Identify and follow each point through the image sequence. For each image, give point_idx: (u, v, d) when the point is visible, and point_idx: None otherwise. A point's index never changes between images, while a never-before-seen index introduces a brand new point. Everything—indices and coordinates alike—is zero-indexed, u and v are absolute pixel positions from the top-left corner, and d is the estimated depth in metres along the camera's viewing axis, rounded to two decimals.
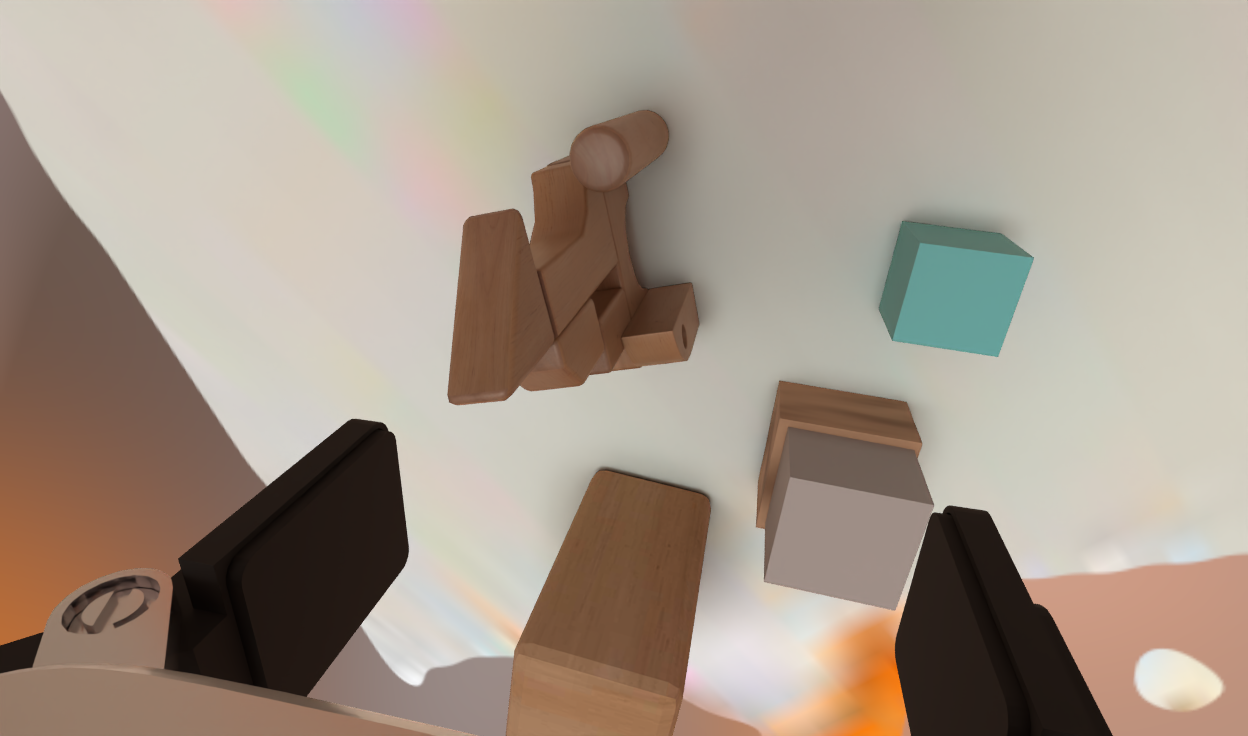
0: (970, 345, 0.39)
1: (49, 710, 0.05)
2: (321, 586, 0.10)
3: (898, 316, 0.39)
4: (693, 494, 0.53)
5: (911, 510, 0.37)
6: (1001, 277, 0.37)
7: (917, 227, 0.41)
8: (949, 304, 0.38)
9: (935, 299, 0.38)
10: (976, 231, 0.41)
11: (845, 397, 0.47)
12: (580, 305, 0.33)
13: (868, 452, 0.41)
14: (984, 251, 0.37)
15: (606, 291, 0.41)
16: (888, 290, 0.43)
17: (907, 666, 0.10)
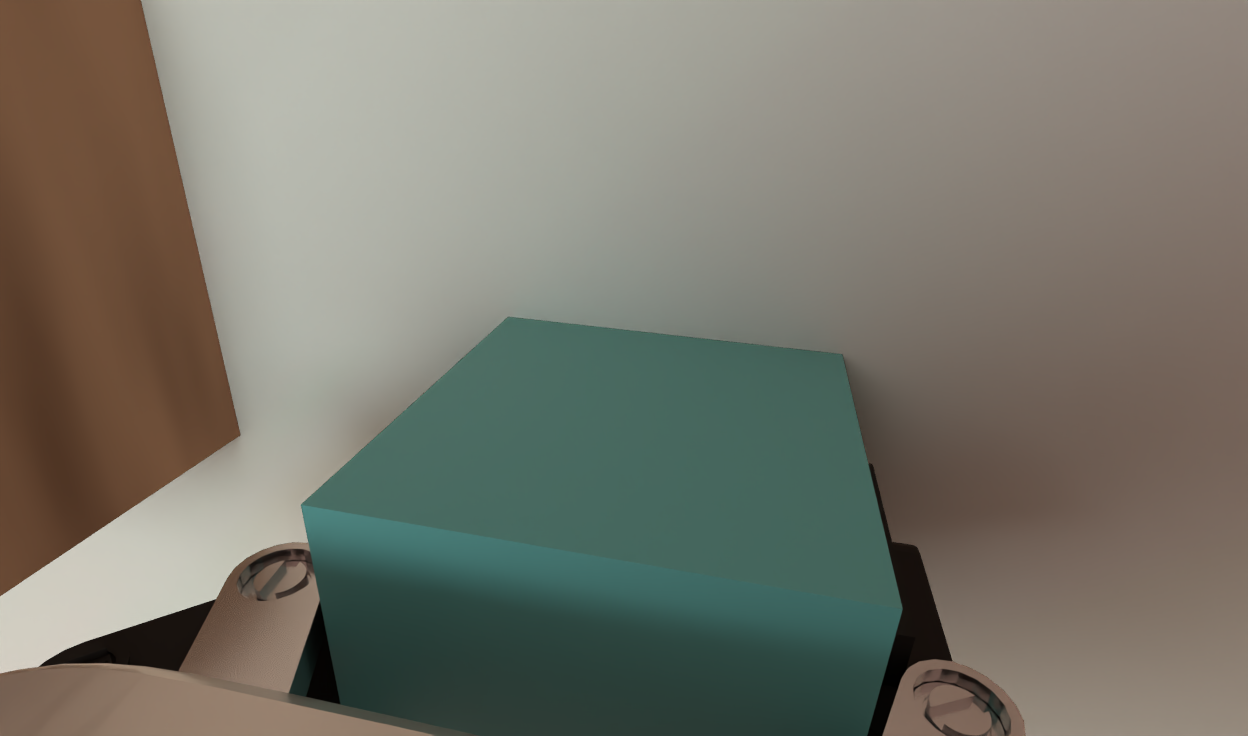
0: None
1: (50, 708, 0.05)
2: None
3: (441, 517, 0.07)
4: None
5: None
6: None
7: None
8: (552, 723, 0.07)
9: (565, 674, 0.07)
10: None
11: (150, 257, 0.12)
12: None
13: None
14: None
15: None
16: (577, 358, 0.11)
17: None
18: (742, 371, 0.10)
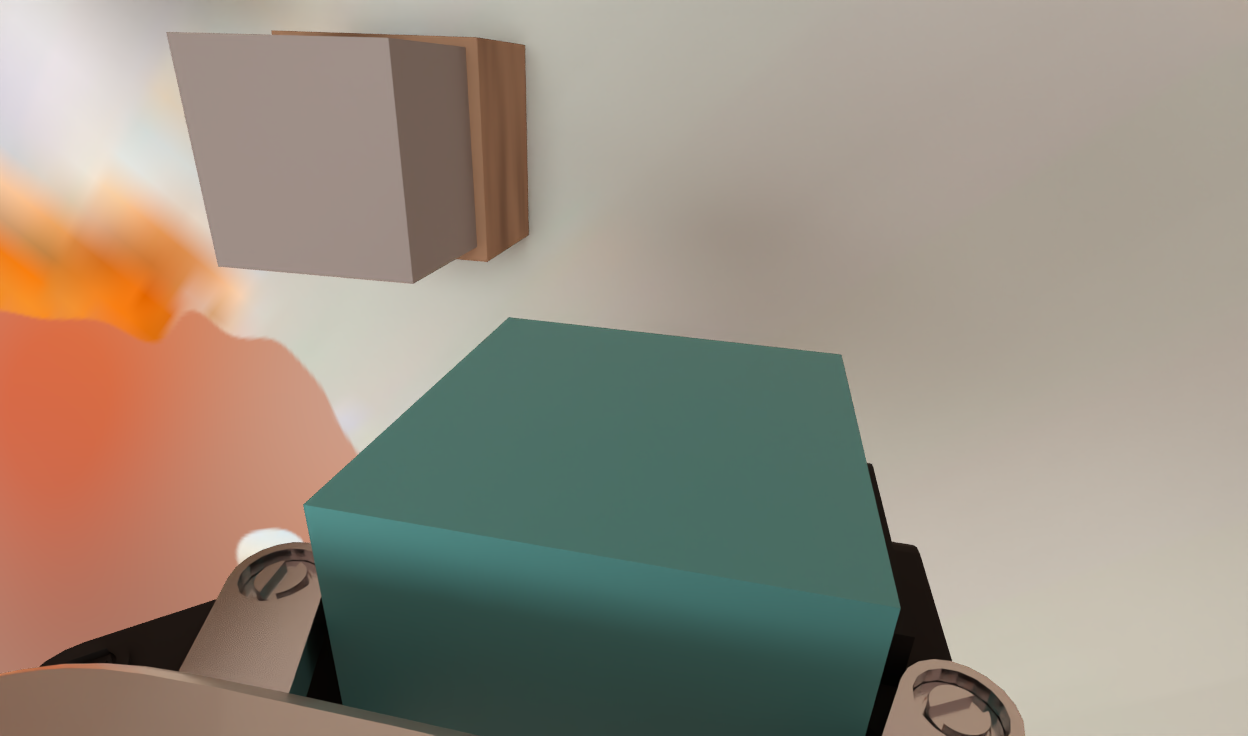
0: None
1: (50, 708, 0.05)
2: None
3: (442, 517, 0.07)
4: None
5: (393, 254, 0.24)
6: None
7: None
8: (552, 721, 0.08)
9: (565, 673, 0.07)
10: None
11: (520, 150, 0.32)
12: None
13: (459, 181, 0.27)
14: None
15: None
16: (577, 358, 0.11)
17: None
18: (741, 371, 0.10)
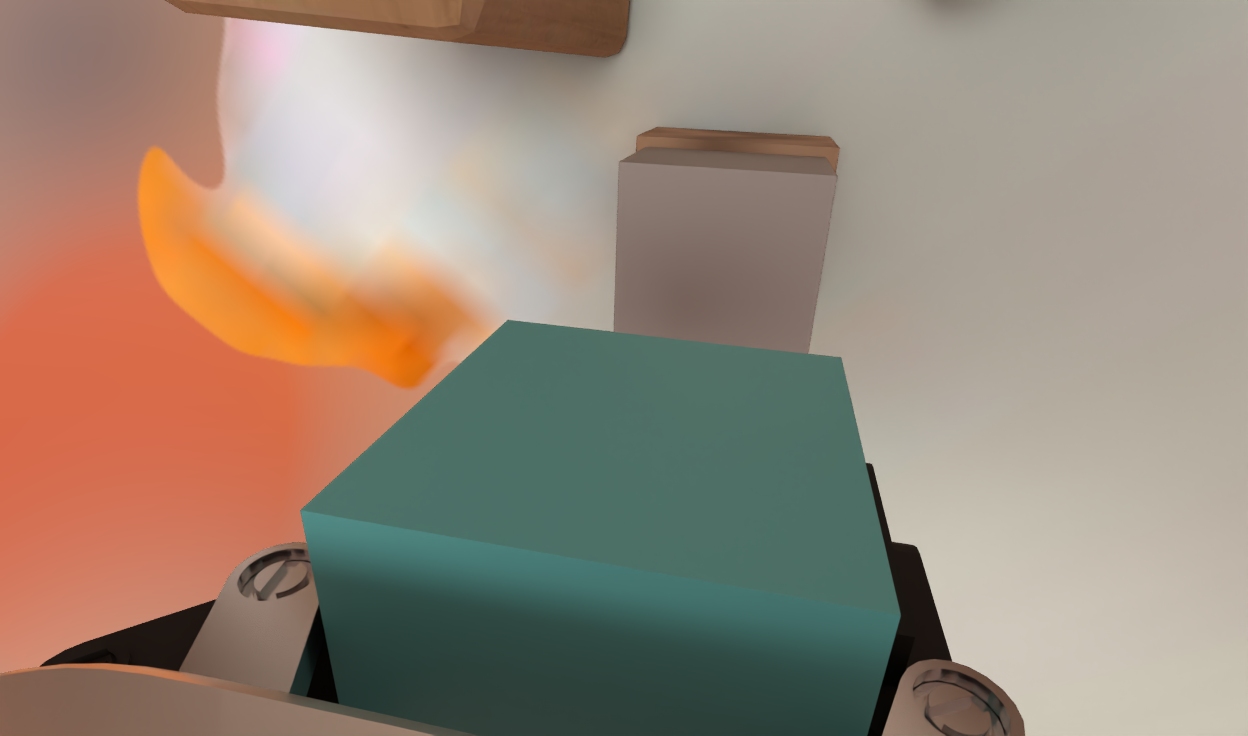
0: None
1: (50, 710, 0.05)
2: None
3: (440, 523, 0.07)
4: None
5: None
6: None
7: None
8: (551, 728, 0.07)
9: (564, 679, 0.07)
10: None
11: None
12: None
13: None
14: None
15: None
16: (577, 361, 0.11)
17: None
18: (741, 375, 0.10)
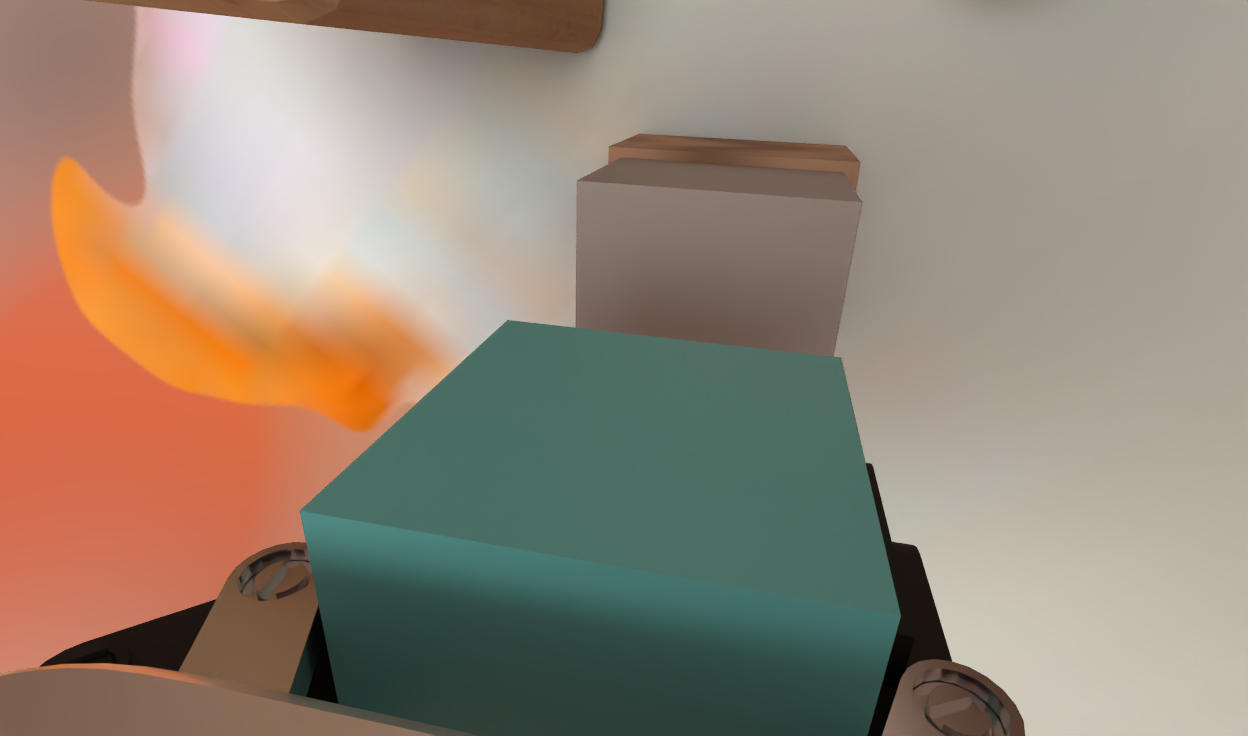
0: None
1: (49, 710, 0.05)
2: None
3: (440, 523, 0.07)
4: None
5: None
6: None
7: None
8: (550, 729, 0.07)
9: (563, 679, 0.07)
10: None
11: None
12: None
13: None
14: None
15: None
16: (576, 362, 0.11)
17: None
18: (741, 375, 0.10)
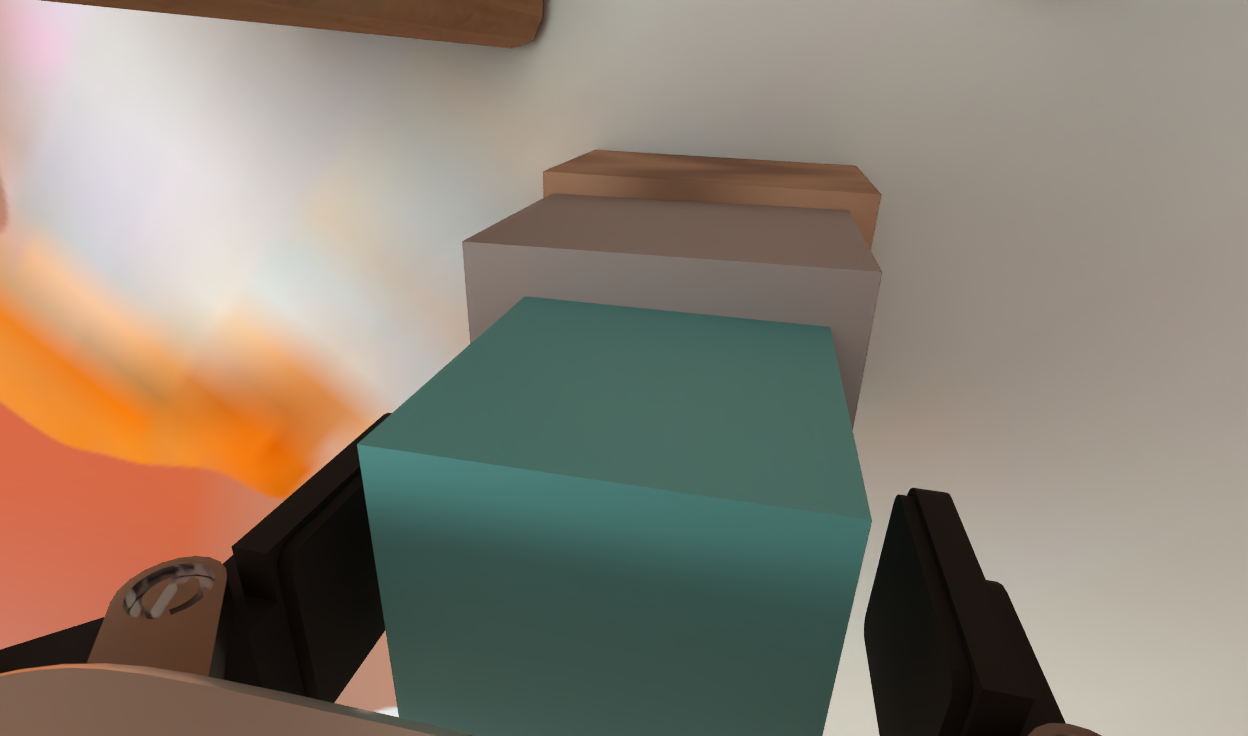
0: (423, 702, 0.10)
1: (50, 710, 0.05)
2: (362, 575, 0.10)
3: (478, 454, 0.08)
4: None
5: None
6: None
7: None
8: (573, 638, 0.09)
9: (584, 591, 0.08)
10: None
11: None
12: None
13: None
14: None
15: None
16: (589, 330, 0.12)
17: (873, 643, 0.11)
18: (738, 341, 0.12)
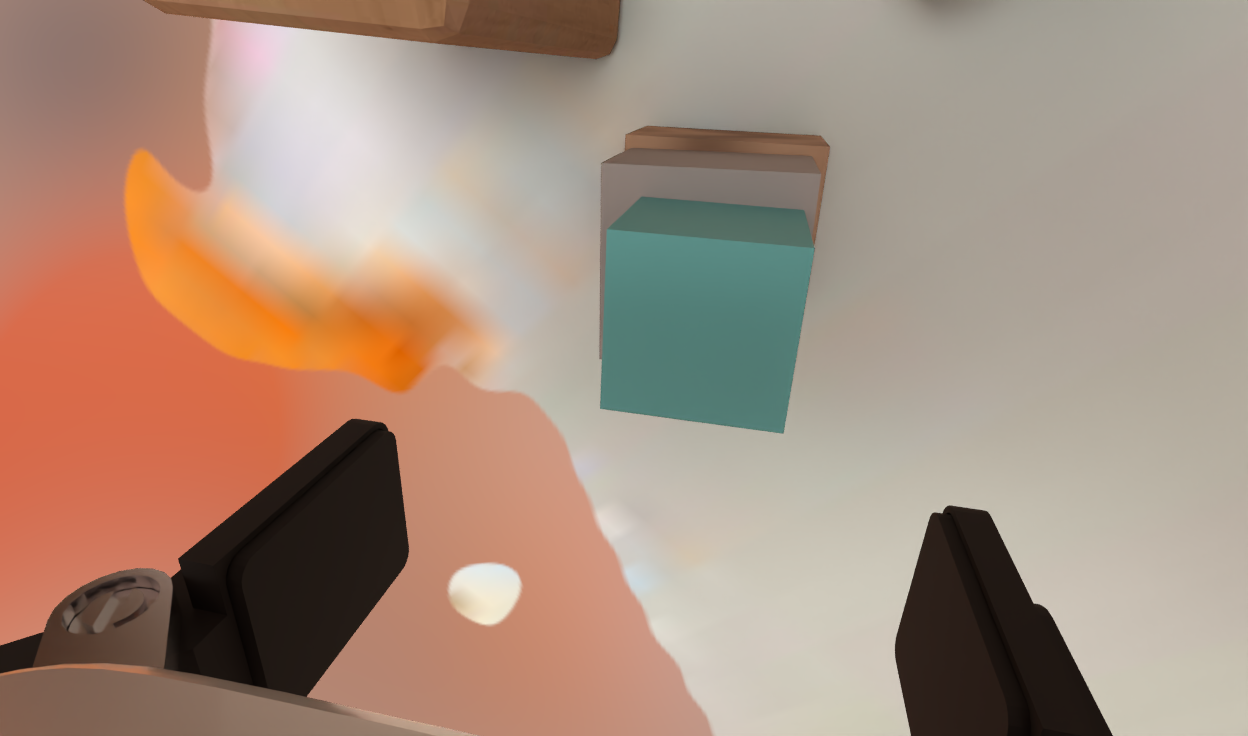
0: (615, 364, 0.21)
1: (49, 709, 0.05)
2: (321, 586, 0.10)
3: (657, 232, 0.19)
4: (617, 24, 0.33)
5: None
6: (746, 393, 0.21)
7: None
8: (690, 318, 0.20)
9: (698, 293, 0.20)
10: None
11: None
12: None
13: None
14: (795, 359, 0.20)
15: None
16: (682, 207, 0.23)
17: (907, 666, 0.10)
18: (758, 212, 0.23)
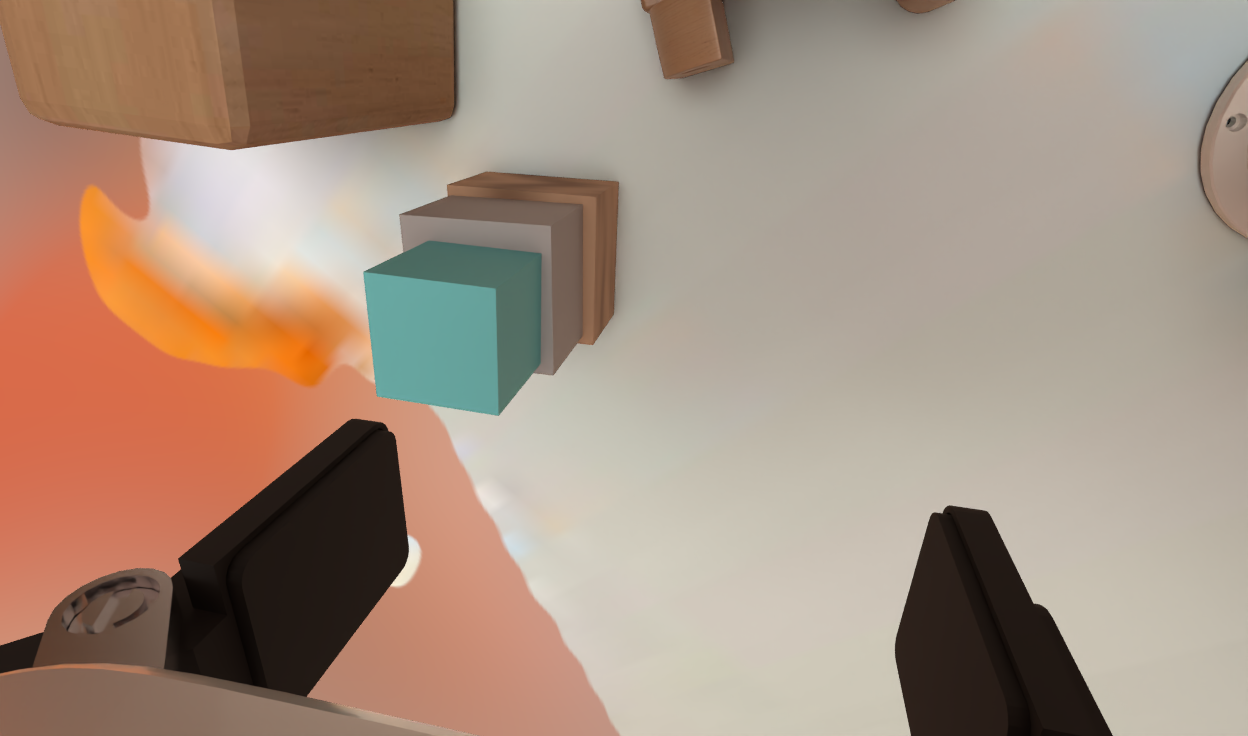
0: (382, 365, 0.30)
1: (50, 710, 0.05)
2: (321, 586, 0.10)
3: (397, 275, 0.28)
4: (453, 95, 0.41)
5: (541, 356, 0.35)
6: (470, 386, 0.30)
7: (531, 274, 0.32)
8: (426, 334, 0.29)
9: (428, 316, 0.29)
10: (538, 339, 0.34)
11: (612, 256, 0.43)
12: None
13: (576, 295, 0.38)
14: (497, 363, 0.29)
15: None
16: (448, 251, 0.32)
17: (907, 666, 0.10)
18: (501, 255, 0.32)
